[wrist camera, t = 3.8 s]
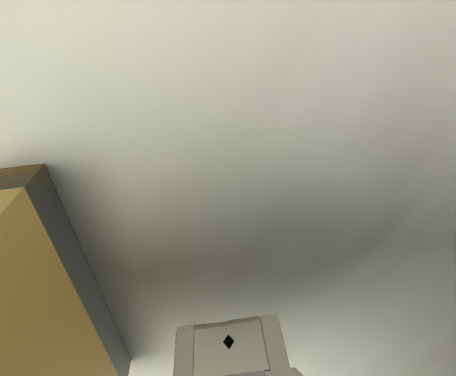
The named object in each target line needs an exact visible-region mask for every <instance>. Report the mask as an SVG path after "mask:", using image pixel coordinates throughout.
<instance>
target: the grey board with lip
mask: <svg viewBox="0 0 456 376" xmlns="http://www.w3.org/2000/svg"><path fill="white" fill-rule="evenodd" d="M130 363H131V359H130V357H129V354H128V352H127V350H126V348H125V345H124V343H123V341H122V339H121V336H120V334H119V332H118V329H117V327H116V325H115V323H114V320H113V318H112V316H111V314H110V311H109V309H108V307H107V305H106V302H105V300H104V298H103V295H102V293H101V291H100V289H99V286H98V284H97V282H96V280H95V277H94V275H93V273H92V271H91V268H90V266H89V264H88V262H87V259H86V257H85V255H84V252H83V250H82V248H81V246H80V243H79V241H78V239H77V237H76V234H75V232H74V230H73V228H72V225H71V223H70V221H69V218H68V216H67V214H66V212H65V209H64V207H63V205H62V203H61V200H60V198H59V196H58V194H57V191H56V189H55V187H54V185H53V182H52V180H51V178H50V175H49V173H48V171H47V169H46V166H45V164H37V165H28V166H20V167H12V168H4V169H0V376H128V374H129V368H130Z"/></svg>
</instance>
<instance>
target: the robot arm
mask: <svg viewBox="0 0 456 376" xmlns="http://www.w3.org/2000/svg"><path fill="white" fill-rule="evenodd" d="M173 376H303V375H302V374H301V373H300V372H299V371H298V370H297V369H296V368H295V367H293V368H290V366H289V362H288V357H287V353H286V349H285V345H284V341H283V336H282V332H281V328H280V324H279V320H278V317H277V315H276V314H274V315H267V316H261V317H259V316H256V317H250V318H243V319H236V320H229V321H226V322H217V323H208V324H199V325H189V326H181V327H178V328H177V332H176V342H175V357H174V372H173Z"/></svg>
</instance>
